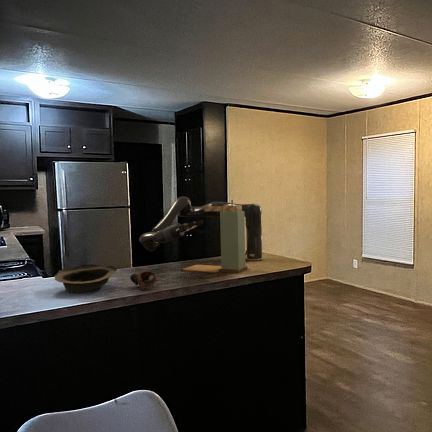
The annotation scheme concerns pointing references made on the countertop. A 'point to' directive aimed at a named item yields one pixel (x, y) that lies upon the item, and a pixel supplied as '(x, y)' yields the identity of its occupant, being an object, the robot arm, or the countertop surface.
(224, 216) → the stand
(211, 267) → the mat
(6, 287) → the countertop surface
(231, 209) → the tan bread loaf
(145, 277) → the pottery mug
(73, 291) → the stone bowl
